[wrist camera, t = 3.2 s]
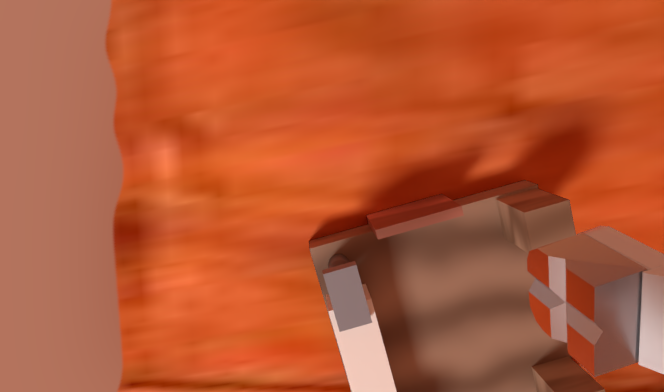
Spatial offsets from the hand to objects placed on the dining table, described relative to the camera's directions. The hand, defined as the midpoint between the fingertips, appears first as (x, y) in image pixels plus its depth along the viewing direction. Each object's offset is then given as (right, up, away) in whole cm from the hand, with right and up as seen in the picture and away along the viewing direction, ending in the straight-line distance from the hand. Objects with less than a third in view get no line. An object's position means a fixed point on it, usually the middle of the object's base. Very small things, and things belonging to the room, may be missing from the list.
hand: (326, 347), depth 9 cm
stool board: (+10, -8, +38) cm, 41 cm away
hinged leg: (+2, -9, +35) cm, 36 cm away
